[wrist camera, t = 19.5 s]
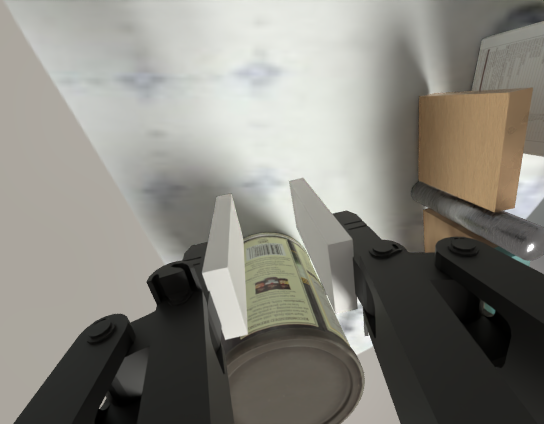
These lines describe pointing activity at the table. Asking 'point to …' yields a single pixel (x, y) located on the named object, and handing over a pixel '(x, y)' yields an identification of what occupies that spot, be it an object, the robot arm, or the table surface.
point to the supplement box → (517, 74)
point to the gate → (444, 228)
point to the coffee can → (289, 343)
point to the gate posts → (477, 164)
